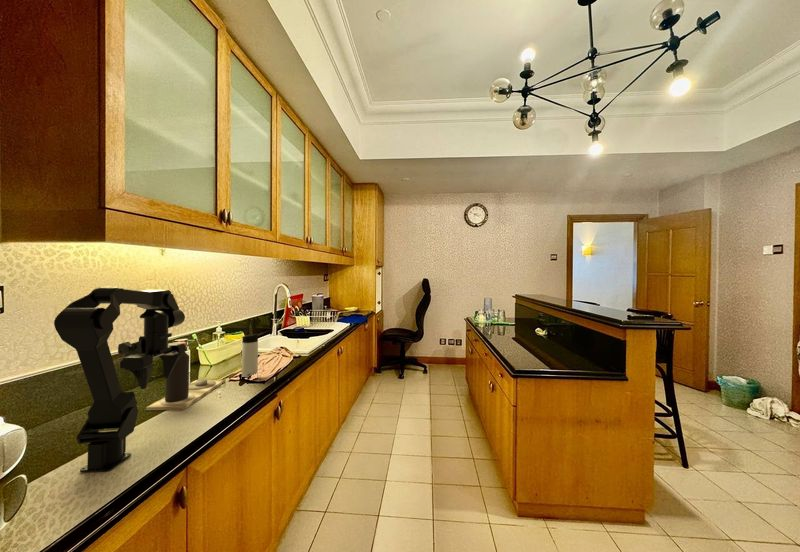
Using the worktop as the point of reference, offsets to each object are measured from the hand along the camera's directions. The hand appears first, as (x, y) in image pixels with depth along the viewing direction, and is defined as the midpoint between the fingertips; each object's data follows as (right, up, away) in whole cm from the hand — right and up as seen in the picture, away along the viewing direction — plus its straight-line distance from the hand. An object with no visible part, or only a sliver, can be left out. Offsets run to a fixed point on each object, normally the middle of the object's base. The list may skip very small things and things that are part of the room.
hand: (155, 383), depth 89 cm
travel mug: (+7, -14, +42) cm, 45 cm away
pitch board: (-7, -13, +24) cm, 29 cm away
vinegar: (-6, -12, +17) cm, 22 cm away
